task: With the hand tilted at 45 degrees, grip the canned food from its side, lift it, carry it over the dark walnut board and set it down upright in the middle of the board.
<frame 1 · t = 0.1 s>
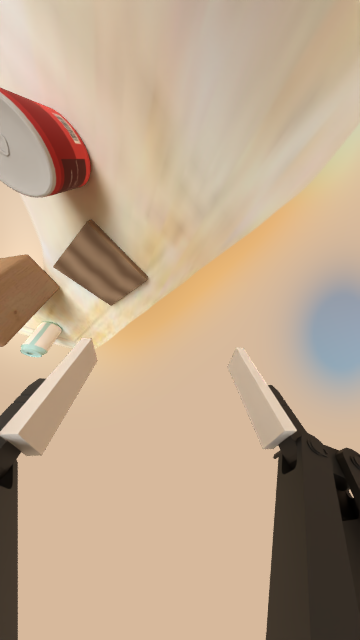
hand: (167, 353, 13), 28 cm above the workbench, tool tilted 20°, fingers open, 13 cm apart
wooden block: (30, 273, 38), on the workbench
canned food: (64, 152, 21), on the workbench
can: (52, 326, 55), on the workbench
walnut board: (104, 269, 36), on the workbench
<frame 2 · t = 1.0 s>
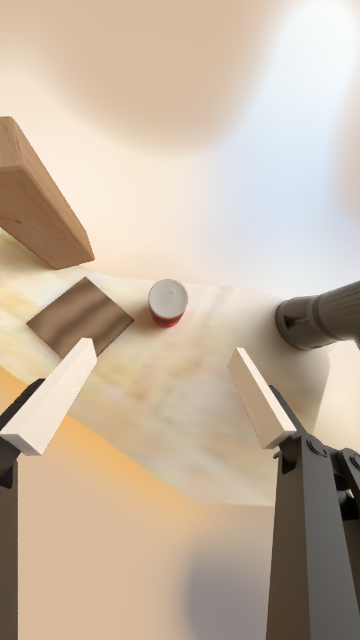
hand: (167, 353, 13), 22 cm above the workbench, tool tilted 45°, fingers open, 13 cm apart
wooden block: (72, 250, 38), on the workbench
canned food: (167, 313, 37), on the workbench
walnut board: (86, 322, 34), on the workbench
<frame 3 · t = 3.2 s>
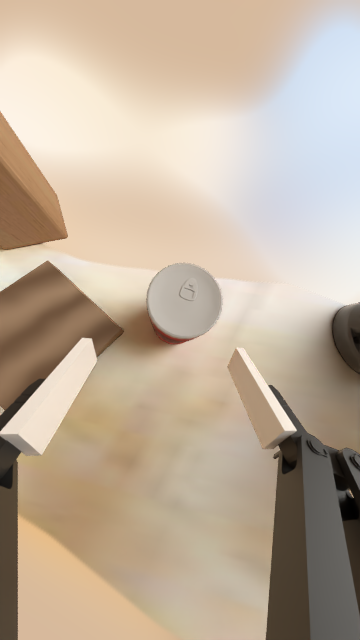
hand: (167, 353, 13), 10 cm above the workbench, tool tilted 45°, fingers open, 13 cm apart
wooden block: (34, 222, 25), on the workbench
canned food: (175, 321, 24), on the workbench
walnut board: (46, 334, 21), on the workbench
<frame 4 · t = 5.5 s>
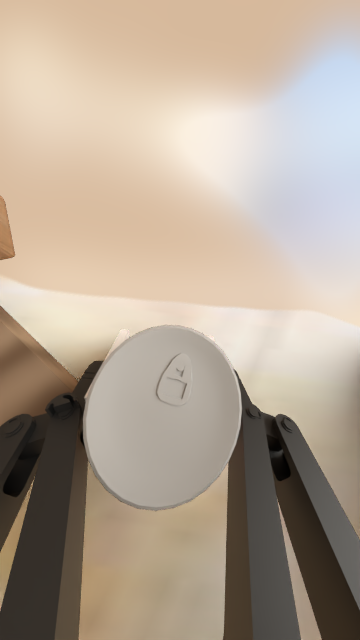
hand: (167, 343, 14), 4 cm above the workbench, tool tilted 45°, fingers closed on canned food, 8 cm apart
canned food: (164, 372, 17), on the workbench, touching gripper
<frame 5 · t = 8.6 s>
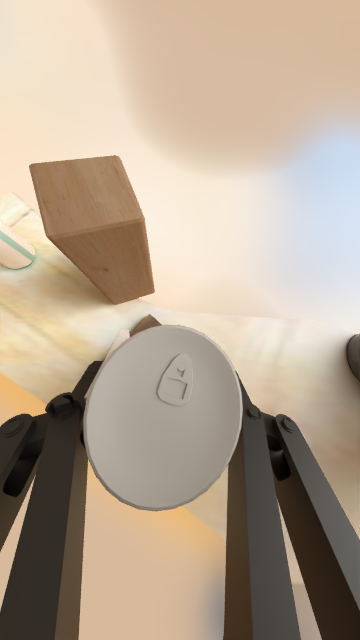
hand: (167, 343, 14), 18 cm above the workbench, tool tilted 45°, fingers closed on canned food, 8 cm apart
wooden block: (129, 281, 34), on the workbench
canned food: (164, 372, 17), point 14 cm above the workbench, touching gripper
can: (21, 257, 33), on the workbench
when the fingers open (7 cm above the workbench, at t = 11.9 s): canned food drops 1 cm, resting on walnut board.
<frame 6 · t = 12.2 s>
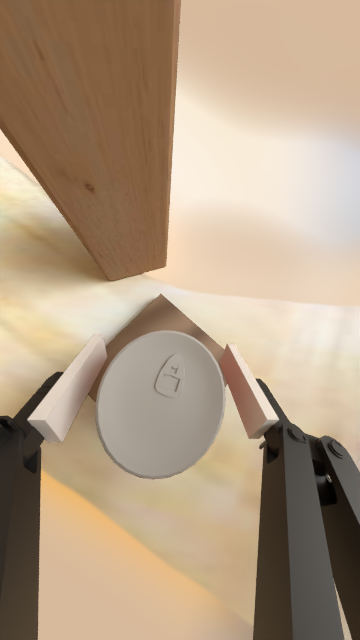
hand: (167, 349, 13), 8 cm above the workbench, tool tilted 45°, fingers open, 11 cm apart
wooden block: (131, 251, 25), on the workbench
canned food: (162, 371, 19), point 2 cm above the workbench, touching walnut board
walnut board: (163, 369, 21), on the workbench
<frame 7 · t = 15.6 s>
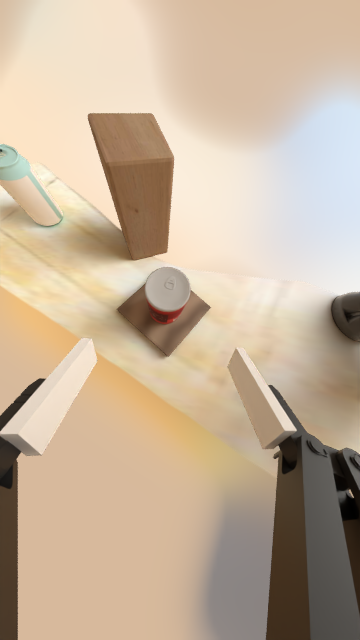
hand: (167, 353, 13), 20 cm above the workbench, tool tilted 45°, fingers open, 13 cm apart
wooden block: (145, 242, 39), on the workbench
canned food: (165, 308, 33), point 2 cm above the workbench, touching walnut board
can: (50, 217, 37), on the workbench
walnut board: (165, 310, 35), on the workbench
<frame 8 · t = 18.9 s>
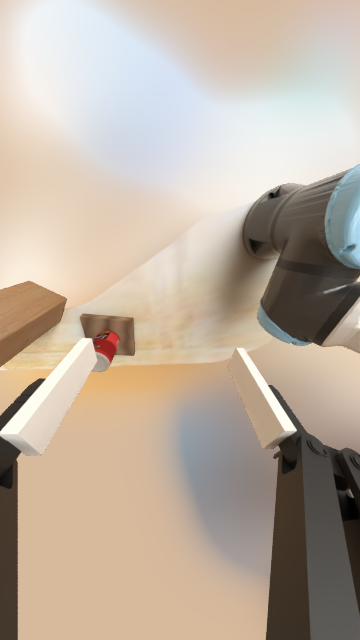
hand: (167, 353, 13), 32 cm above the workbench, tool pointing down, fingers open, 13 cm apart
wooden block: (46, 302, 42), on the workbench
canned food: (109, 338, 49), point 2 cm above the workbench, touching walnut board
walnut board: (111, 334, 50), on the workbench
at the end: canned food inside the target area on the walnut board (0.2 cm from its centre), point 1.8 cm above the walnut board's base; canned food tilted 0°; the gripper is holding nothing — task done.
